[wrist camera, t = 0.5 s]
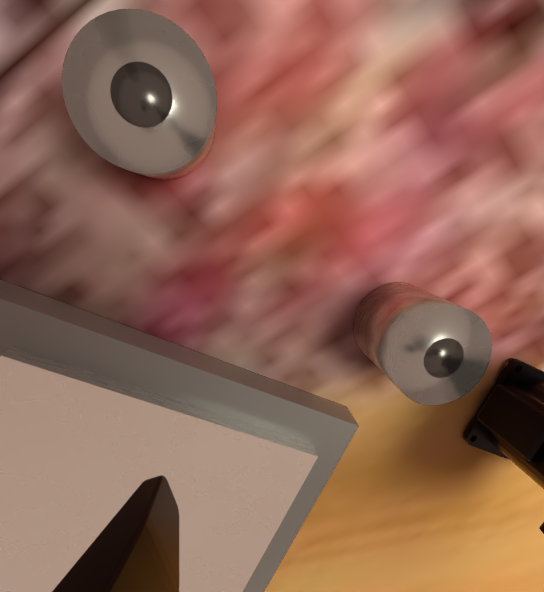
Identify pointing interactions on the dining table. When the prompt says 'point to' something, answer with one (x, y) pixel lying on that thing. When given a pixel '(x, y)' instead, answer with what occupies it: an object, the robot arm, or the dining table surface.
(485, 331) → the cylinder
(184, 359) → the kitchen scale
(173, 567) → the robot arm
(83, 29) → the steel spacer
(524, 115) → the dining table surface
